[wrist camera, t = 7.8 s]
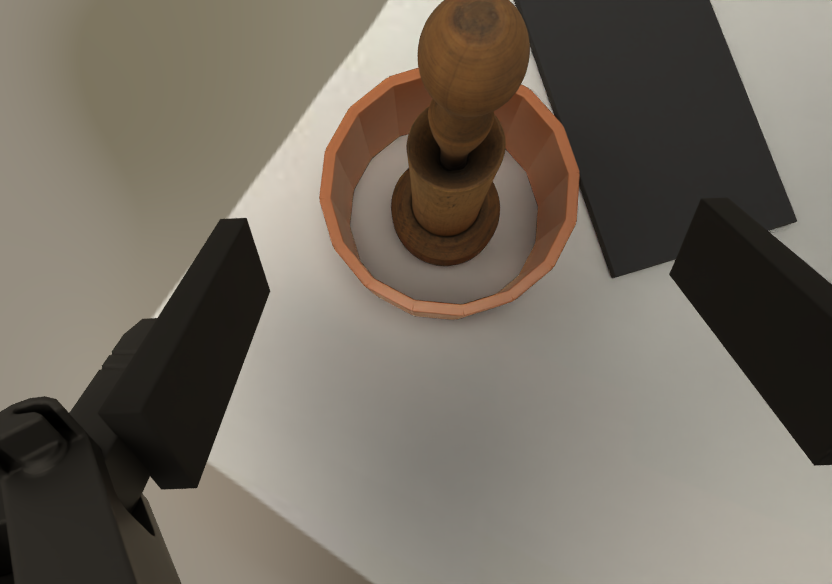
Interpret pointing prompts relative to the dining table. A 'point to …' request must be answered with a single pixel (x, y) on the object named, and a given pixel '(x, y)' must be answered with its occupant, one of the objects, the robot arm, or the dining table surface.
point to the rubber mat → (652, 120)
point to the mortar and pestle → (459, 129)
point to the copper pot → (525, 140)
